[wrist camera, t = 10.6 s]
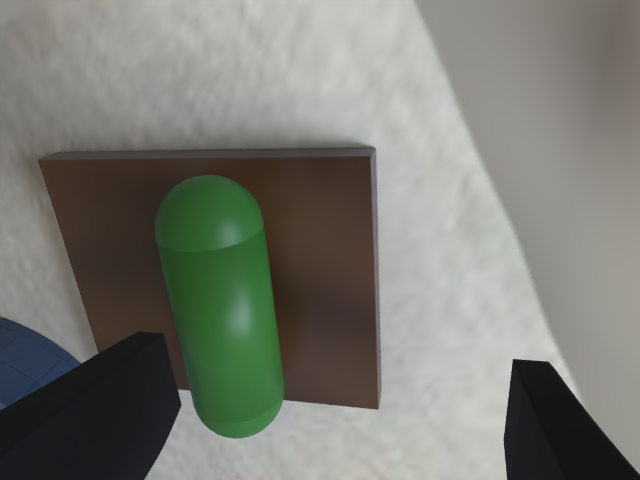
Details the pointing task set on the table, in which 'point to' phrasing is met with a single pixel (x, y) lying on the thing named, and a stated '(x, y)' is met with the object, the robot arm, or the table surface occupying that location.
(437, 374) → the table surface
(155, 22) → the table surface
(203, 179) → the cucumber
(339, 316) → the plate
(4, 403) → the bowl
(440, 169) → the table surface
